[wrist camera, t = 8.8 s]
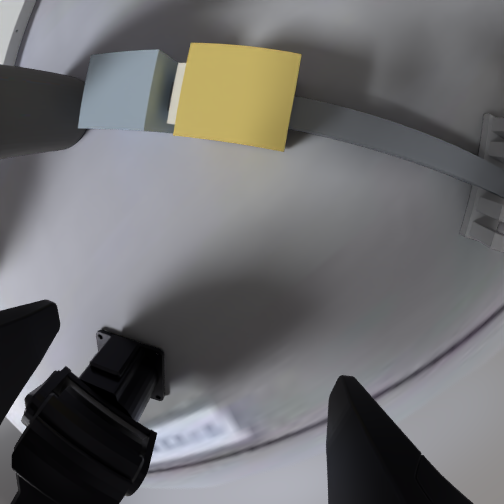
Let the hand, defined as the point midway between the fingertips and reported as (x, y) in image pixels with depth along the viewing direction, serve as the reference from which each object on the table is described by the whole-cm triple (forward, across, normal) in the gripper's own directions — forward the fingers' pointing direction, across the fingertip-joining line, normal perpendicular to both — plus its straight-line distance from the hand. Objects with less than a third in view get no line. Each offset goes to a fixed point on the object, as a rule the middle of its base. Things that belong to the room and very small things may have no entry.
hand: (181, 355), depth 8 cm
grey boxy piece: (+12, -16, -8) cm, 22 cm away
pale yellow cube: (+12, +1, -8) cm, 14 cm away
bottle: (+12, +15, -7) cm, 21 cm away
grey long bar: (+12, -4, -8) cm, 15 cm away
